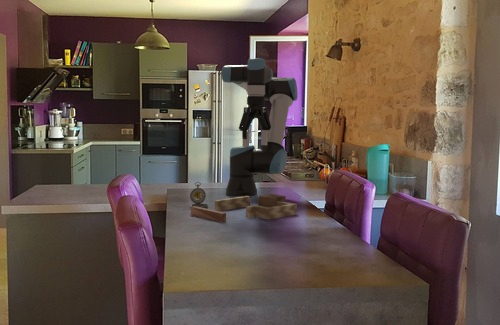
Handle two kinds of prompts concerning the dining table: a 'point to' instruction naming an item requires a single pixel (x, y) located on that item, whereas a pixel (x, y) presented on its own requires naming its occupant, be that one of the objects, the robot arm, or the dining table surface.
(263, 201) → the block
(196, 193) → the pocket watch
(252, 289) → the dining table surface
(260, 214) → the brown wooden pieces
